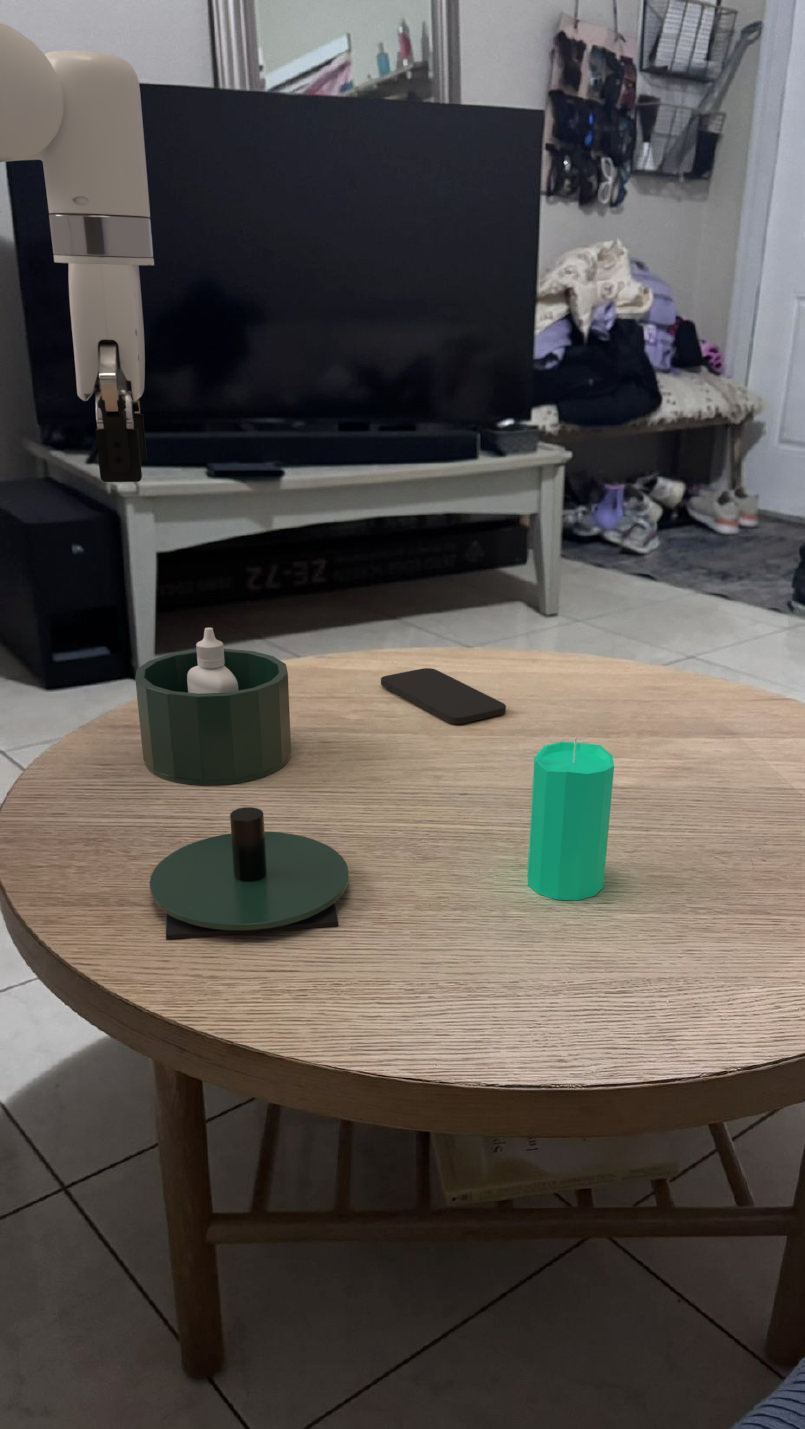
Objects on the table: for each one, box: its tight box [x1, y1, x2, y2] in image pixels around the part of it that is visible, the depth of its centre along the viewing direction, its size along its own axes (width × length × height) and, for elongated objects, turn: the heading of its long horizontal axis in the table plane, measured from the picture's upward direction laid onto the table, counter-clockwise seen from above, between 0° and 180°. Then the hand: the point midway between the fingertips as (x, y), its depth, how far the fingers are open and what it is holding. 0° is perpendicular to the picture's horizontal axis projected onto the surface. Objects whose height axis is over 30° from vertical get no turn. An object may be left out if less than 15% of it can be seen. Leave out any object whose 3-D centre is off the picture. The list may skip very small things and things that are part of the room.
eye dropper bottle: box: [187, 627, 239, 694], centre depth 108 cm, size 4×6×12 cm
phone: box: [380, 667, 507, 725], centre depth 126 cm, size 7×1×15 cm
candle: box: [526, 736, 615, 901], centre depth 88 cm, size 6×6×12 cm
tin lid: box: [149, 806, 350, 930], centre depth 86 cm, size 15×15×6 cm
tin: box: [134, 648, 292, 786], centre depth 109 cm, size 14×14×8 cm
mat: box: [165, 902, 339, 941], centre depth 87 cm, size 12×12×1 cm
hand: (125, 470), depth 98 cm, fingers open, 9 cm apart
